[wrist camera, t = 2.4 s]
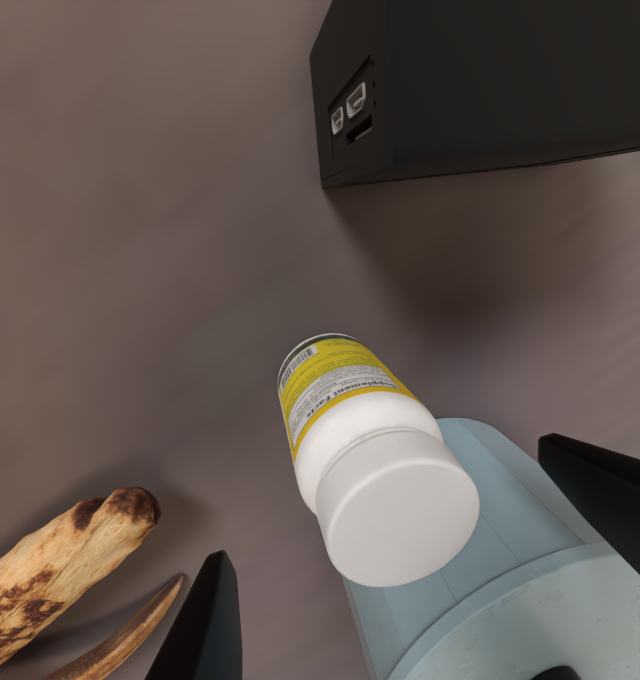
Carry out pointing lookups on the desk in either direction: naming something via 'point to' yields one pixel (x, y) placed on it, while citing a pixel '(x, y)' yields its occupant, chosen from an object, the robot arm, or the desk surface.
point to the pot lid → (539, 624)
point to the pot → (471, 543)
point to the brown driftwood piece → (79, 577)
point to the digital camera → (472, 86)
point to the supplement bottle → (372, 465)
